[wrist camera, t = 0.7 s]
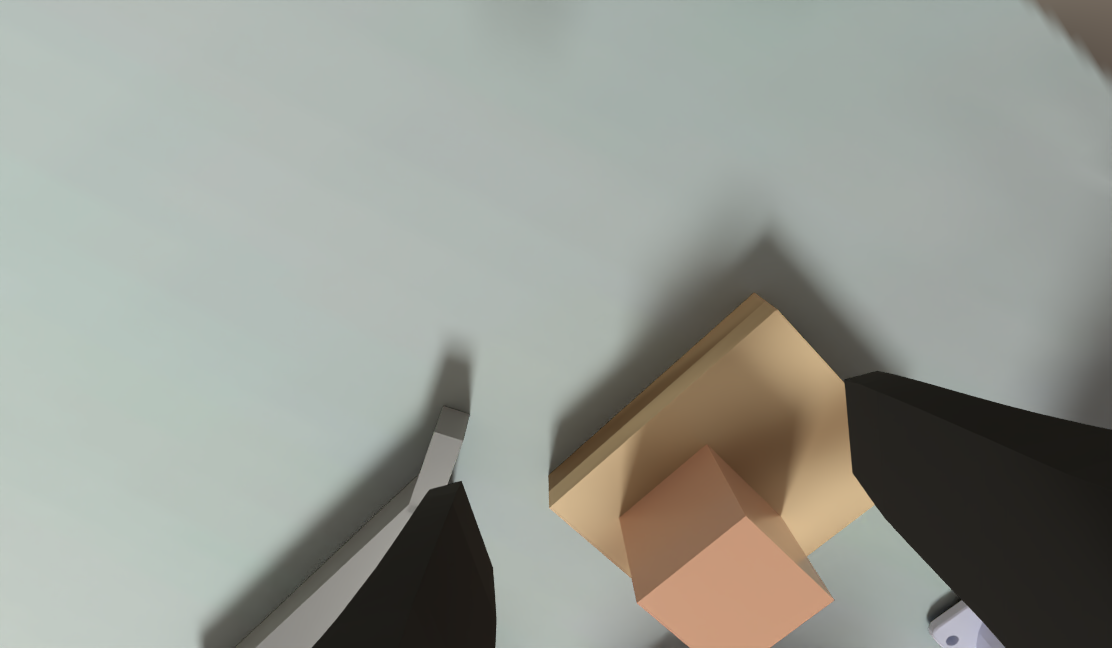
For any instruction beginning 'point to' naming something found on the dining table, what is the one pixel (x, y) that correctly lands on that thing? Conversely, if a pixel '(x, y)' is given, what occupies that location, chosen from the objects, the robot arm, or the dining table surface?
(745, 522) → the salmon pink cube
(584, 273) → the dining table surface
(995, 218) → the dining table surface
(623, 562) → the pallet
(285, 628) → the dock
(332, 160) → the dining table surface
